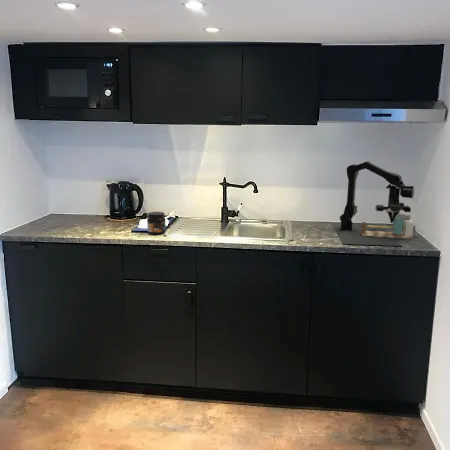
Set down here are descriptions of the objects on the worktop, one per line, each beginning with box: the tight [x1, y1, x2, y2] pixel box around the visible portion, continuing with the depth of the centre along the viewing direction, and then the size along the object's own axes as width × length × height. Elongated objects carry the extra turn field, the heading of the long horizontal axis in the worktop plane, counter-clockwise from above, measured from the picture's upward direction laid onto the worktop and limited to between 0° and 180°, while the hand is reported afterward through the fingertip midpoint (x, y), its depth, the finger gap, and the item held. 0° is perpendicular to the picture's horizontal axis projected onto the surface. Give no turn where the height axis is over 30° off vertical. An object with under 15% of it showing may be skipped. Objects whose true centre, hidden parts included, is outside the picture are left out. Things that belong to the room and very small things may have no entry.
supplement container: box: [146, 211, 166, 236], centre depth 275 cm, size 10×10×12 cm
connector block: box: [402, 219, 416, 237], centre depth 274 cm, size 6×7×8 cm
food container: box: [395, 213, 412, 232], centre depth 290 cm, size 12×6×10 cm, turn 27°
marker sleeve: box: [391, 218, 403, 235], centre depth 275 cm, size 4×6×8 cm, turn 172°
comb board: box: [359, 221, 414, 239], centre depth 277 cm, size 28×10×7 cm, turn 82°
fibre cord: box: [366, 224, 405, 229], centre depth 276 cm, size 23×1×1 cm, turn 82°
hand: (391, 222), depth 275 cm, fingers closed
